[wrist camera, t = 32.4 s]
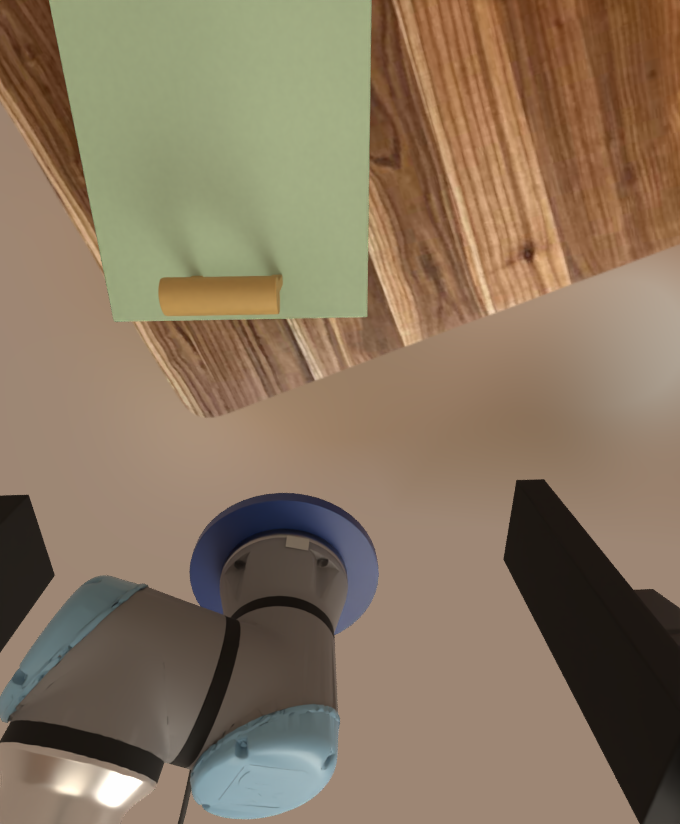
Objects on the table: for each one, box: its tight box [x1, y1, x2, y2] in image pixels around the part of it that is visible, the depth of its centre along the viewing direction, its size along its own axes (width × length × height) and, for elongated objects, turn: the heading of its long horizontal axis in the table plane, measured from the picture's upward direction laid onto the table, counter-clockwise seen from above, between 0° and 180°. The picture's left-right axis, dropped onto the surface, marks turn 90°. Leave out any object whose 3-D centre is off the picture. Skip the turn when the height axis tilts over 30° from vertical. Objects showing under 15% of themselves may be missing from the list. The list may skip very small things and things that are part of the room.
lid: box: [49, 0, 372, 322], centre depth 25 cm, size 21×17×7 cm
